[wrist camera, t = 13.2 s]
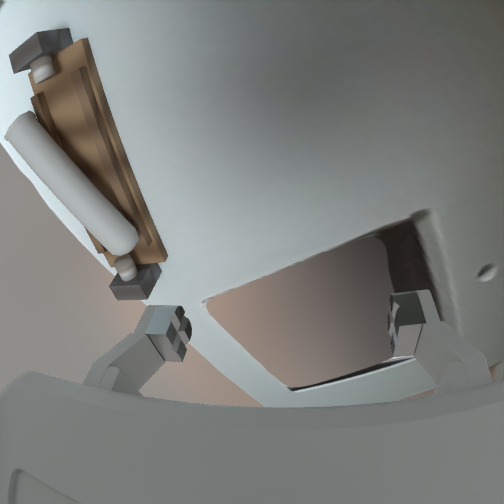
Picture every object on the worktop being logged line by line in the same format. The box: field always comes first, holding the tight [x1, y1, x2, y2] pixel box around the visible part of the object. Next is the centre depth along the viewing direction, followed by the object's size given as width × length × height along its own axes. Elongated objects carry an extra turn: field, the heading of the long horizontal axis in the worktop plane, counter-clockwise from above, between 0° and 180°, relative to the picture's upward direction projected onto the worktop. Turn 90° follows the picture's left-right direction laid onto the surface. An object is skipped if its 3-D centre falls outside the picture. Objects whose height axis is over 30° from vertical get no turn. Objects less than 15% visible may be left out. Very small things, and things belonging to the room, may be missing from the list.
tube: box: [4, 111, 139, 256], centre depth 37 cm, size 5×5×25 cm
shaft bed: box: [9, 28, 168, 300], centre depth 38 cm, size 41×11×6 cm, turn 13°
